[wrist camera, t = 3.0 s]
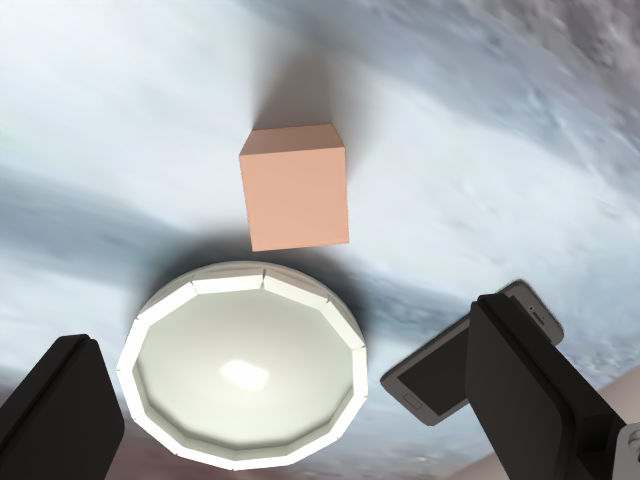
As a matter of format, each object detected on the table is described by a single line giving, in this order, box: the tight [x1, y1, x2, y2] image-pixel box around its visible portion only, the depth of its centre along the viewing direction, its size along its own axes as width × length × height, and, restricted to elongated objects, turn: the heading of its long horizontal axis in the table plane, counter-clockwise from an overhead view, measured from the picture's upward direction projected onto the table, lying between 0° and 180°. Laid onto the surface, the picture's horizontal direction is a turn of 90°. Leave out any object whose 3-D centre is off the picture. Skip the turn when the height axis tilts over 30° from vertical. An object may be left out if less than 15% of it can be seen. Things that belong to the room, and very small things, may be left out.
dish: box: [116, 261, 368, 470], centre depth 32 cm, size 18×18×3 cm
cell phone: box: [380, 282, 564, 426], centre depth 35 cm, size 7×14×1 cm, turn 132°
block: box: [239, 124, 349, 252], centre depth 24 cm, size 5×5×7 cm
